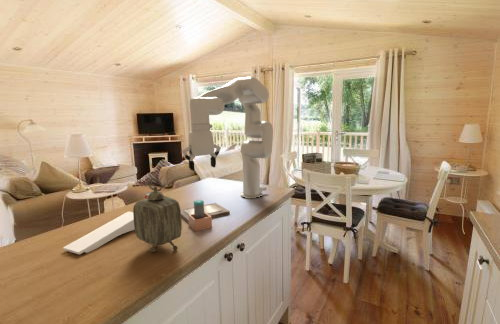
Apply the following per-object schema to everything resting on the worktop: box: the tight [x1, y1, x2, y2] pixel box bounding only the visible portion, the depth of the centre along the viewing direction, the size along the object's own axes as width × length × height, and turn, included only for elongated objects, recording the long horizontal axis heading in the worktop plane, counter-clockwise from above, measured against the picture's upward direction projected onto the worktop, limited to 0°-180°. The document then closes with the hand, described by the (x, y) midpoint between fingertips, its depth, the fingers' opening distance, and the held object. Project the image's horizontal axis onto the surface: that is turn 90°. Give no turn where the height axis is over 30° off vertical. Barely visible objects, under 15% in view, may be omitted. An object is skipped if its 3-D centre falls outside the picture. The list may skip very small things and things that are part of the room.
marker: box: [193, 199, 205, 219], centre depth 113 cm, size 4×4×10 cm
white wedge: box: [62, 210, 135, 256], centre depth 105 cm, size 10×7×28 cm
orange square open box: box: [188, 212, 213, 232], centre depth 114 cm, size 7×7×4 cm
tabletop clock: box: [132, 177, 183, 253], centre depth 93 cm, size 14×9×25 cm, turn 56°
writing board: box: [180, 202, 231, 224], centre depth 129 cm, size 20×15×2 cm
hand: (202, 168), depth 117 cm, fingers open, 9 cm apart
